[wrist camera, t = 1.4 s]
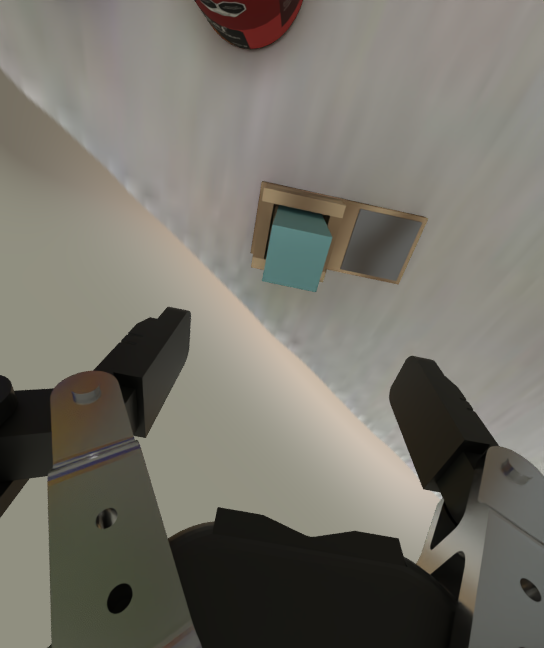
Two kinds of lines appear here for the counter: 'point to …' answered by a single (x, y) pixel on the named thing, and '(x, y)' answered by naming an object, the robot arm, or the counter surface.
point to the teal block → (297, 249)
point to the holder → (345, 232)
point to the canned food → (250, 19)
